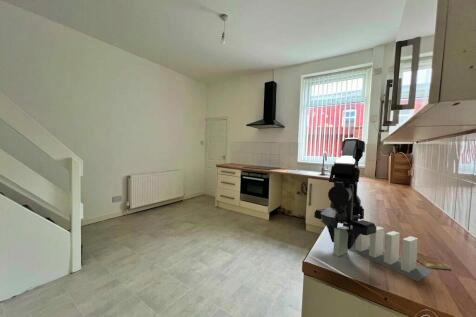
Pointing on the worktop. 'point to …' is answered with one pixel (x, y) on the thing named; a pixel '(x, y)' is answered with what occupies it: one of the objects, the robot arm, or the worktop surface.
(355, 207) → the robot arm
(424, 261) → the shard
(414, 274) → the mat
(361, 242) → the ivory domino
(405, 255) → the ivory domino
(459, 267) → the worktop surface
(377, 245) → the ivory domino
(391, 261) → the ivory domino
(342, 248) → the sage domino
